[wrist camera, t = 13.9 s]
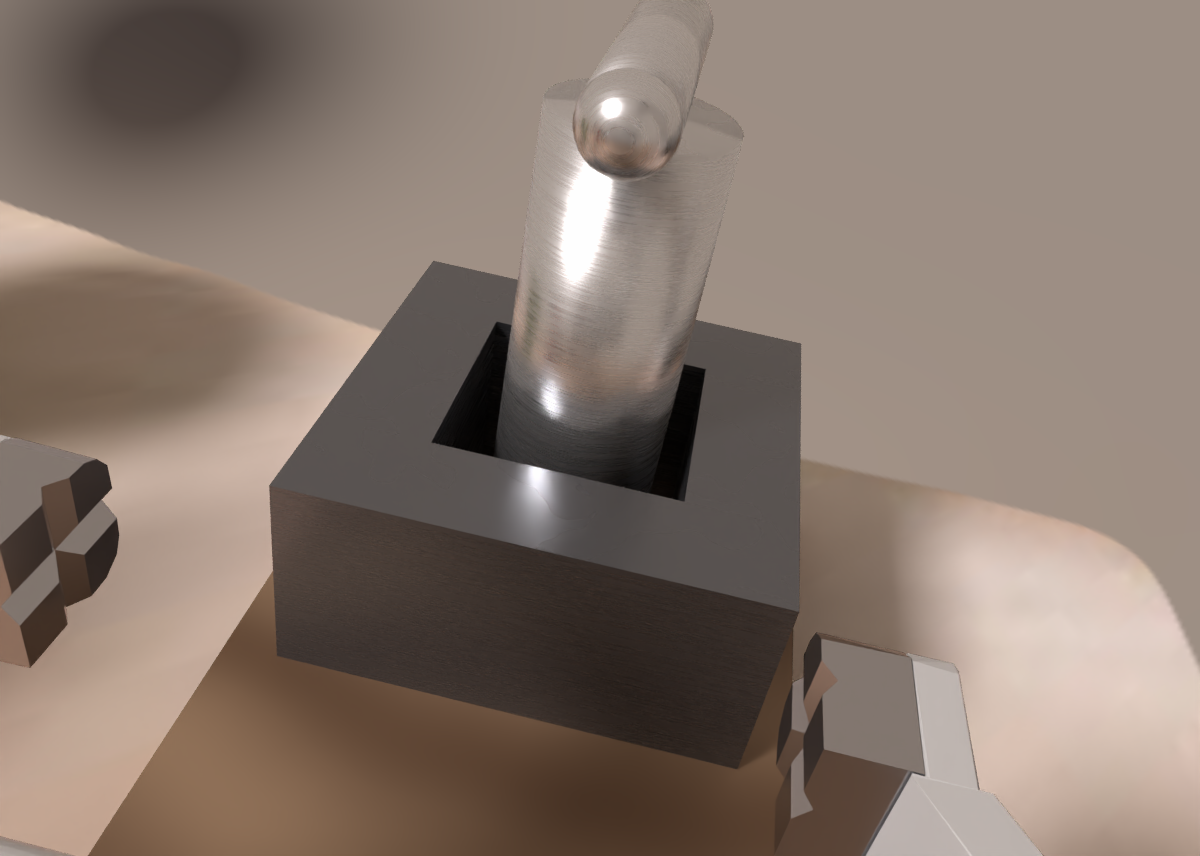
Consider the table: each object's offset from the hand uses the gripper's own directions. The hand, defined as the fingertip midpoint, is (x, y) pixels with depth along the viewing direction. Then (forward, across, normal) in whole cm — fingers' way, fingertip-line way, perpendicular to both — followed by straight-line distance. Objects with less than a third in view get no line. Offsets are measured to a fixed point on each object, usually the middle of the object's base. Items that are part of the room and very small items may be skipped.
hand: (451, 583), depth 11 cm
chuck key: (+12, 0, +10) cm, 15 cm away
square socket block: (+12, 0, +10) cm, 15 cm away
